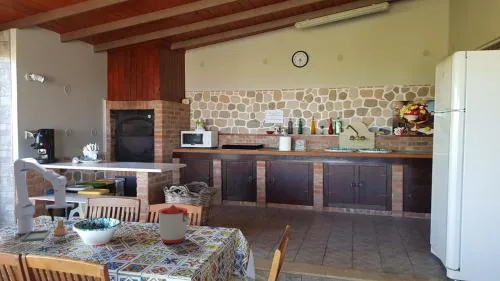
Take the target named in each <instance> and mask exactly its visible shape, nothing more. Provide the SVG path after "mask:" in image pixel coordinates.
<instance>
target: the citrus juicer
mask: <svg viewBox="0 0 500 281" xmlns="http://www.w3.org/2000/svg"><path fill="white" fill-rule="evenodd" d="M157 212H158V231H159V236H160V239H161V241H162V242H163V243H165V244H179V243H182V242H183V241H185V238H186V234H187V229H188V222H190V221H191V217H190V216H188V209H187V208H185V207H177V206H175V205H174V204H172V205H171V206H170V207H165V208H161V209H159V210H158V211H157Z"/></svg>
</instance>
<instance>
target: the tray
mask: <svg viewBox="0 0 500 281" xmlns="http://www.w3.org/2000/svg"><path fill="white" fill-rule="evenodd" d="M50 233H51V229H40V230H33V231H29V232H28V233H25V235H24V236H23V237H22V238H21V239H20V241H21V242H22V243H23V242H32V241H33V242H35V241H44V240H45V239H46V238H47V237H48V236H49V235H50Z"/></svg>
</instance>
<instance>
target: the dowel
mask: <svg viewBox="0 0 500 281" xmlns="http://www.w3.org/2000/svg"><path fill="white" fill-rule="evenodd" d="M64 226H65V225H64V219H63V218H62V219H60V218H59V219H57V227H58V229H63V228H64Z"/></svg>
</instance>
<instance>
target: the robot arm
mask: <svg viewBox="0 0 500 281" xmlns="http://www.w3.org/2000/svg"><path fill="white" fill-rule="evenodd" d="M31 170H34V171H36V173H37V172H38V173H39V174H41V175H42V177H43V179H45V180H46V181H48V182H49V183H51V186H52V187H53V188H52V189H53V192H54V193H53V194H54V196H53V198H54V204H46V205H45V210H47V213H48V214H49V215H50V218H51V222H55V209H66V221H69V220H70V215H71V212H72V209H74V207H75V203H66V199H67V198H66V185H67V184H68V178H67V177H66V176H65V175H60V174H58V173H57V172H55V171H54V170H53V169H47V168H45V167H44V165H41V164H40V163H39V162H38V160H37V159H35V158H33V157H27V158H18V159H16V160H15V161H14V162H13V177H14V183H15V188H16V189H15V190H16V195H17V203H16V204H15V205H14V216H15V217H16V219H17V230H18V231H17V232H16V233H15V235H20V234H21V235H23V234H27V233H28V232H29V231H35V229H36V227H34V218H33V216H34V214H35V212H36V207H35V205H34V202H33V201H32V200H30V199H29V197H30V196H29V191H28V184H27V178H26V174H27V173H28V172H29V171H31Z"/></svg>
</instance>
